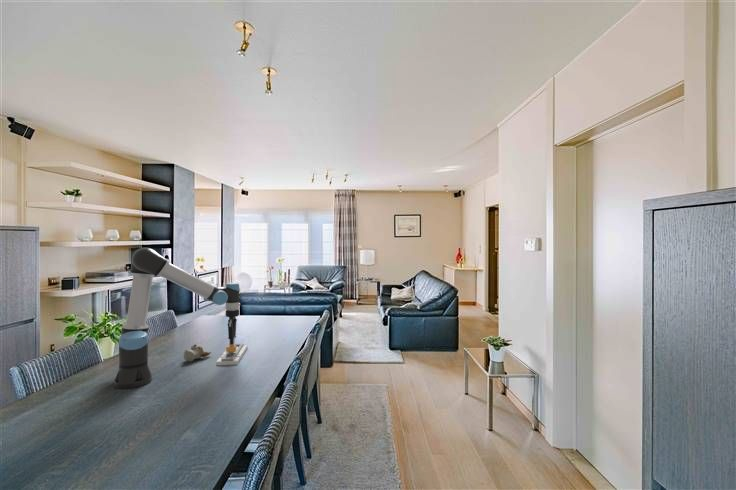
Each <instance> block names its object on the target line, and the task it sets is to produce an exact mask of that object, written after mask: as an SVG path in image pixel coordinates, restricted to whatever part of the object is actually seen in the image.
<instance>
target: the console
mask: <svg viewBox="0 0 736 490" xmlns="http://www.w3.org/2000/svg"><path fill="white" fill-rule="evenodd" d="M235 345H236V352H234V354H233V355H232V356H229V352H226V350H225V351H223V353H222V354H220V357H219V358H217V360H216V366H230V365H233V366H234V365H238V364H239V363H240V361H241V360H242V358H243V356H244V355H245V353H246V352H247V349H248V348H249V347H248V344H245V345H244V343H235Z"/></svg>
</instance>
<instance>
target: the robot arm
mask: <svg viewBox="0 0 736 490" xmlns="http://www.w3.org/2000/svg"><path fill="white" fill-rule="evenodd" d="M129 273H130V274H131V276H132V280H131V281H132V282H131V288H130V289H131V290H130V295H129V296H130V297H129V302H128V310H127V316H126V322H125V324H123V325H122V327H121V331H120V335H119V339H118V341H117V342H118V369H117V370H118V371H117V372H116V374H115V378H114V381H113V387H114V388H116V389H122V390H124V389H125V390H127V389H133V388H139V387H142V386H145V385H148V384H149V383H150V382H152V381H153V373H152V371H151V368H150V366H149V340H150V339H149V330H150V326H149V325H148V324H147V318H148V312H149V306H150V305H149V304H150V299H151V298H150V297H151V293H152V291H151V290H152V285H153V278H154V277H155V278H156V277H161V278H163V279H166V280H167V281H169V282H172V283H174V284H175V285H178V286H180V287H182V288H183V289H185V290H187V291H190V292H192V293H194V294H196V295H198V296H200V297H202V298H203V301H204V302H212V303H214V304H215V305H218V306H221V305H225V317H227V318H228V319H227V333H228V336H227V340H229V341H228V342H229V345H228V346H235V344H236V341H235V340H236V338H237V334H236V333H237V332H236V331H237V320H238V319H237V317H239V316H240V306H241V303H240V294H241V293H240V292H241V291H240V284H239V283H238V282H227V283H226V284H225V286H220V287H219V286H214V285H212V284H211V283H208V282H207V281H205V280H203V279H201V278H199V277H197V276H195V275H193V274H191V273H189V272H188V271H186V270H184V269H182V268H180V267H178V266H176V265H174V264H172V263H171V262H170V260H169V259H167V258H165V257H164V256H162V255H161V254H159V253H158V252H157V251H156V250H155V249H154V248H151V247H141V248H140V247H139V248H138V249H136V250H135V251H134V252H133V254H132V255H131V265H130V272H129Z"/></svg>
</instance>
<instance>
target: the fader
mask: <svg viewBox="0 0 736 490" xmlns="http://www.w3.org/2000/svg"><path fill="white" fill-rule="evenodd" d="M225 349H226V350H225V351H226V352H229V356H232V355H233V354H234V352H236V345H235V346H229V345H226V348H225Z"/></svg>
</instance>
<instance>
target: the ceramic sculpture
mask: <svg viewBox="0 0 736 490" xmlns="http://www.w3.org/2000/svg"><path fill="white" fill-rule="evenodd" d="M211 353H212V352H211V351H210V352H208V351H204V349H203V347H202V346H201V345H197V344H193V345H192V346H191V347H190V348H189V349H185V350H184V353H183V359H184V361H186V362H189V363H191V362H193V361H194V360H199V359H200V358H205V357H208V356H210V354H211Z"/></svg>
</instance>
